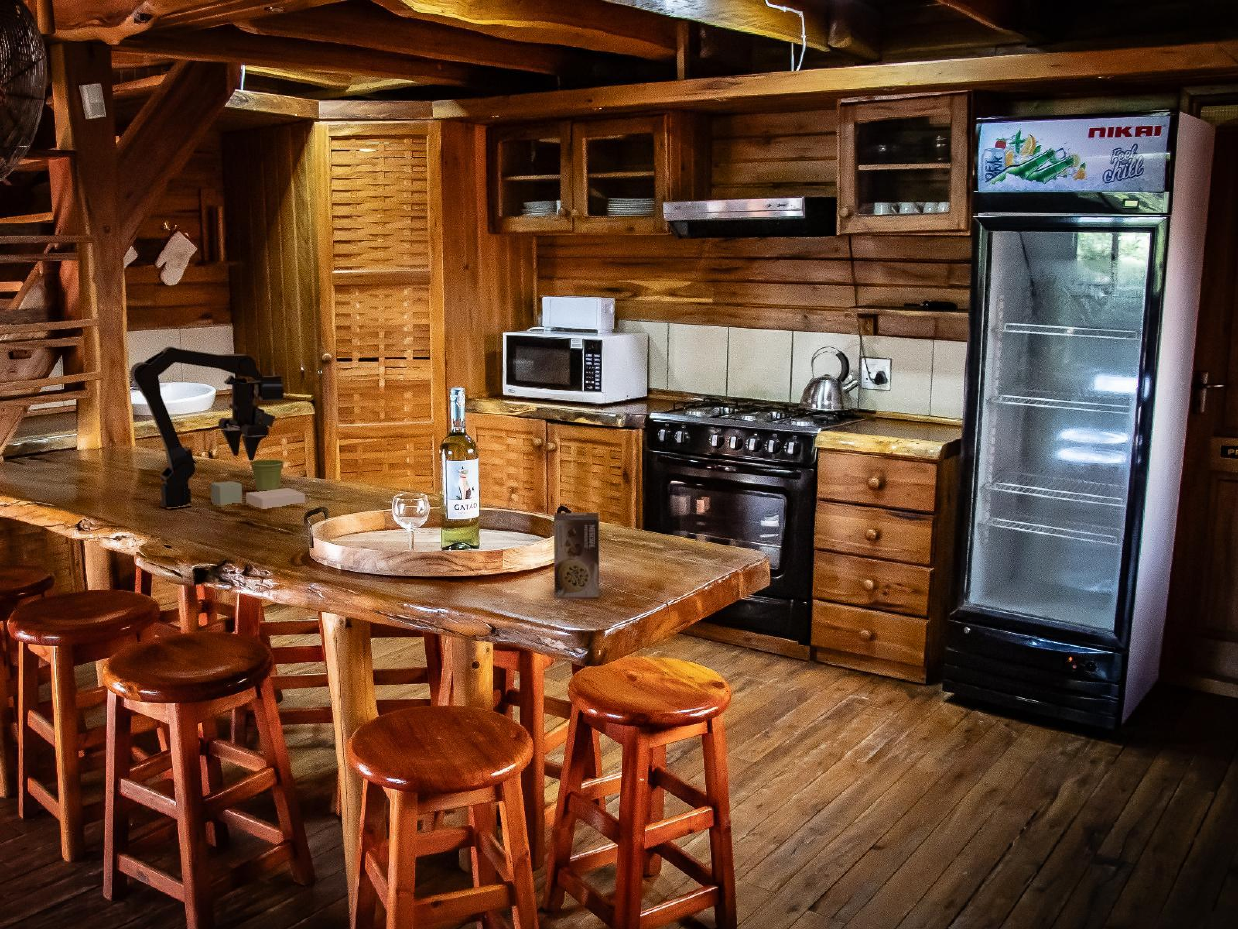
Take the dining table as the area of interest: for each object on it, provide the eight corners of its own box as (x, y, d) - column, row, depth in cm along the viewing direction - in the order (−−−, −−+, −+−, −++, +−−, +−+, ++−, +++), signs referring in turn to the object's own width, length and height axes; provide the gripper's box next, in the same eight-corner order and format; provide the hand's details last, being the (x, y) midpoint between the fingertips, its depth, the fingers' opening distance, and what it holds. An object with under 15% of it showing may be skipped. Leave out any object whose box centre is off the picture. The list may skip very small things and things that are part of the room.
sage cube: (220, 508, 316) (219, 486, 315) (211, 505, 320) (210, 483, 319) (242, 506, 320) (241, 484, 319) (232, 502, 324) (232, 480, 323)
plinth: (262, 514, 312) (262, 499, 311) (246, 507, 319) (246, 493, 318) (305, 508, 319) (304, 493, 319) (288, 502, 327) (288, 488, 326)
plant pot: (292, 491, 340) (291, 461, 338) (266, 496, 332) (265, 466, 330) (269, 488, 344) (268, 458, 343) (243, 493, 337) (242, 462, 335)
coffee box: (598, 589, 243) (599, 512, 241) (599, 598, 237) (600, 519, 234) (553, 589, 243) (554, 511, 240) (553, 598, 237) (553, 518, 234)
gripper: (287, 403, 320) (287, 460, 323) (255, 396, 334) (255, 451, 336) (248, 405, 313) (248, 463, 315) (217, 397, 326) (217, 454, 328)
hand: (243, 458), depth 324 cm, fingers open, 9 cm apart
